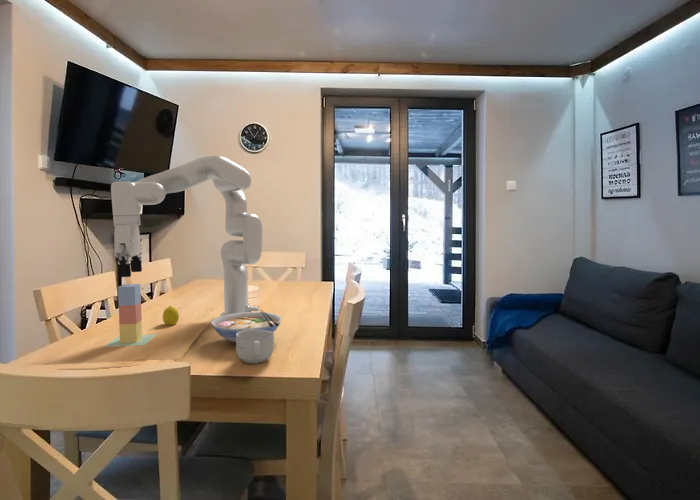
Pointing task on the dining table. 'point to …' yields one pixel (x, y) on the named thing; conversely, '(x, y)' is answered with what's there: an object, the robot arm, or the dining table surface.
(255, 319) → the ramen bowl
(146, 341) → the baseplate
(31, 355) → the dining table surface
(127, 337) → the block ochre
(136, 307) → the block brick
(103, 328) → the dining table surface
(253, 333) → the teacup
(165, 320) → the lemon
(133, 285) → the block slate
